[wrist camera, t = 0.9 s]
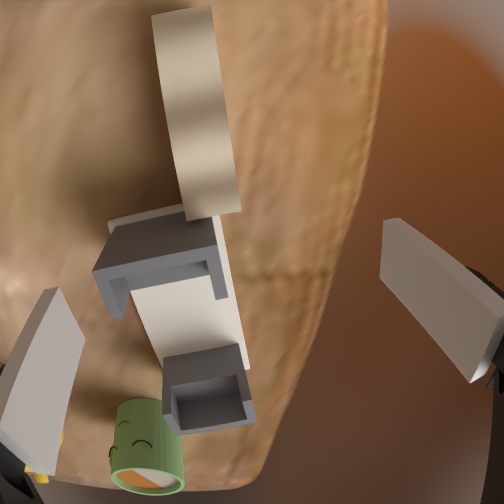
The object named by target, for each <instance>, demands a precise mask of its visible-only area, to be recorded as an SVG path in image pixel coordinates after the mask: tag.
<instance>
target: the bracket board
mask: <svg viewBox="0 0 504 504" xmlns="http://www.w3.org/2000/svg"><path fill="white" fill-rule="evenodd" d="M107 225H108V228H109V231H110V235H111V236H110V237H109V239H108V241H107V243H106V245H105V247H104V249H103V251H102V252H101V254H100V256H99V258H98V260H97V262H96V264H95V266H94V268H93V270H92V273H93V275H94V278H95V280H96V283H97V285H98V288H99V290H100V292H101V295H102V297H103V300H104V302H105V304H106V307H107V309H108V311H109V313H110V316H111V318H112V320H114V319H120V318H124V314H125V310H126V306H127V302H128V298H129V294H130V292H131V295H132V297H133V300H134V303H135V305H136V308H137V310H138V313H139V315H140V318H141V320H142V323H143V325H144V328H145V330H146V332H147V335H148V337H149V339H150V342H151V344H152V346H153V349H154V351H155V353H156V355H157V358H158V360H159V362H160V364H161V366H162V369H163V388H162V416H163V417H164V419H165V421H166V422H167V424H168V425H169V427H170V429H171V430H172V432H173V433H174V435H175V436H180V435H188V434H195V433H202V432H208V431H214V430H220V429H226V428H231V427H236V426H241V425H246V424H251V423H256V422H257V419H256V414H255V410H254V406H253V402H252V398H251V394H250V390H249V386H248V381H247V377H246V373H245V370H247V369H250V364H249V360H248V355H247V350H246V346H245V341H244V336H243V331H242V327H241V322H240V317H239V312H238V307H237V302H236V297H235V292H234V287H233V282H232V277H231V272H230V267H229V262H228V257H227V252H226V247H225V241H224V236H223V231H222V226H221V220H220V215H217V216H212V217H207V218H202V219H197V220H192V221H187V220H186V216H185V211H184V206H183V203H181V204H176V205H172V206H167V207H163V208H158V209H154V210H150V211H145V212H141V213H137V214H132V215H128V216H124V217H120V218H116V219H112V220H109V221H108V223H107Z"/></svg>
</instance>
